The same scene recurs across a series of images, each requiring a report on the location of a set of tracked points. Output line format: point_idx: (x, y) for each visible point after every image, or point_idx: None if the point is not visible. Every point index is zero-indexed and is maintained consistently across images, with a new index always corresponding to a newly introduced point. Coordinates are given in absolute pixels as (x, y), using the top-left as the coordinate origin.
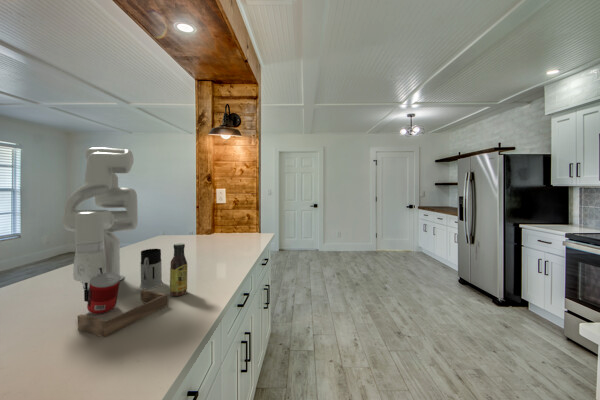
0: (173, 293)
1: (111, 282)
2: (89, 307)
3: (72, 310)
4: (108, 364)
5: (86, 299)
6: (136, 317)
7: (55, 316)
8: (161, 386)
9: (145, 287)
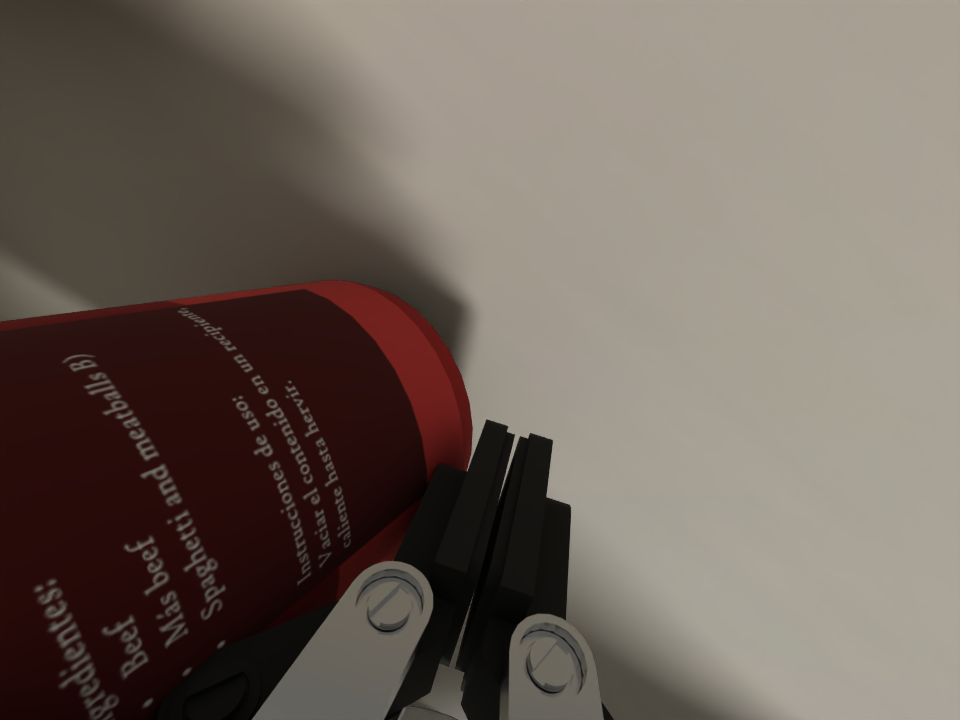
0: None
1: None
2: (331, 292)
3: (724, 366)
4: None
5: (494, 442)
6: None
7: (834, 188)
8: None
9: (419, 718)
